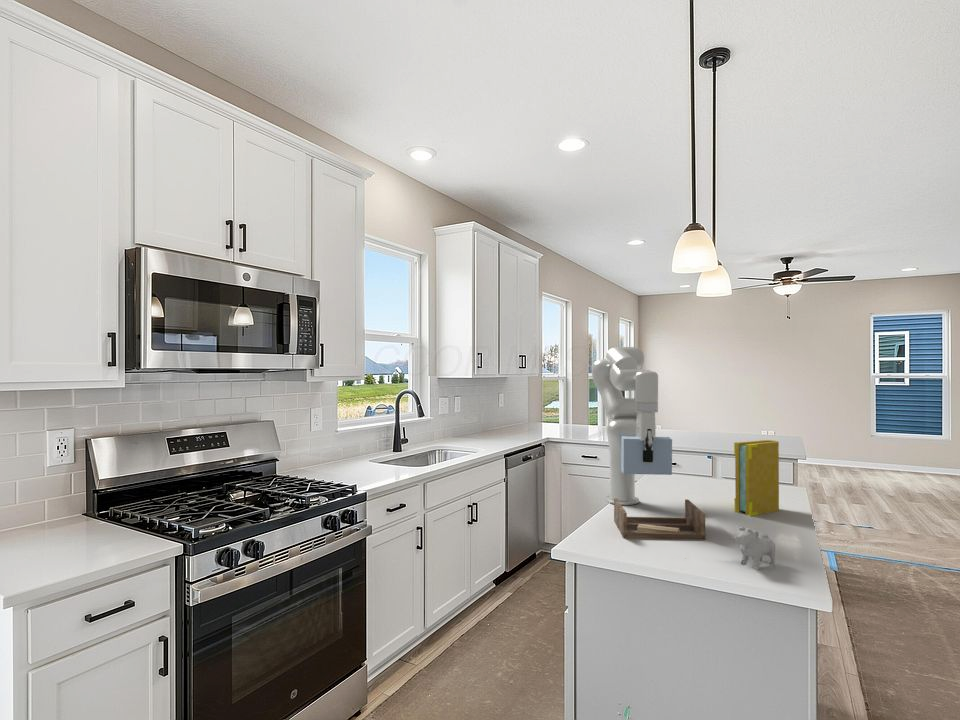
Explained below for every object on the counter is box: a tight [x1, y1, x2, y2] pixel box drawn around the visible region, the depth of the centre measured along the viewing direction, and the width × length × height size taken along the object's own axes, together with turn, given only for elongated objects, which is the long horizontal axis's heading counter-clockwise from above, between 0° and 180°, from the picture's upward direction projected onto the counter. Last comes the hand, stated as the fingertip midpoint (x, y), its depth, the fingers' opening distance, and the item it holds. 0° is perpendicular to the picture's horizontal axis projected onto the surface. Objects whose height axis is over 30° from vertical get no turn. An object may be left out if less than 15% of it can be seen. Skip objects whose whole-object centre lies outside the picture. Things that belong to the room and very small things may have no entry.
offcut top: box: [636, 523, 680, 533], centre depth 174 cm, size 4×12×2 cm, turn 66°
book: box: [733, 439, 780, 517], centre depth 205 cm, size 17×7×25 cm, turn 114°
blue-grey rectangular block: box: [621, 436, 673, 476], centre depth 194 cm, size 5×16×12 cm, turn 85°
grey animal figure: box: [734, 526, 776, 571], centre depth 151 cm, size 5×13×11 cm, turn 118°
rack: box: [613, 498, 706, 541], centre depth 178 cm, size 18×24×9 cm
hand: (646, 459), depth 194 cm, fingers closed on blue-grey rectangular block, 5 cm apart
